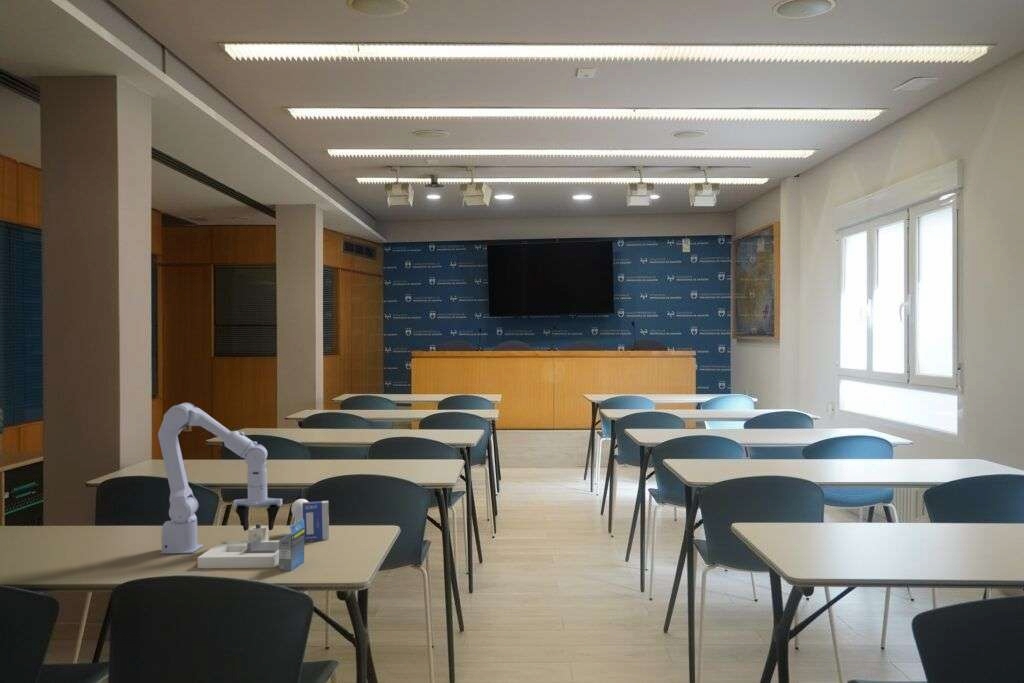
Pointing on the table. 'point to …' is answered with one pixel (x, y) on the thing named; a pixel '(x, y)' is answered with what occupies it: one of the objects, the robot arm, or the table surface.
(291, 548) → the label tape box
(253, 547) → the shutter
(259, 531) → the plug
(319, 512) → the walkman
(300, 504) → the lightbulb
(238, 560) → the socket board
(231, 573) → the table surface
